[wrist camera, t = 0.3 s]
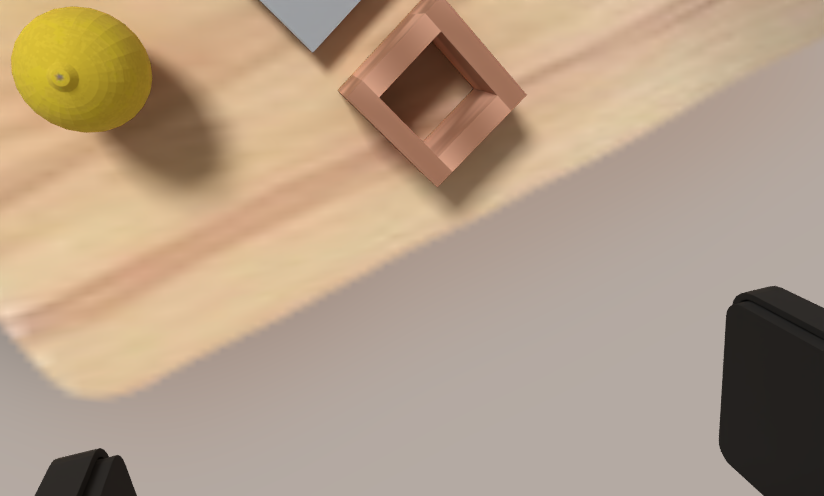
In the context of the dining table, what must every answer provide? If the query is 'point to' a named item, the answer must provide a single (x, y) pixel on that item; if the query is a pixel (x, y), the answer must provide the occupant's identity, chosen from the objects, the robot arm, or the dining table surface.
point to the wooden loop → (467, 120)
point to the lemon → (81, 69)
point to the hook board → (310, 17)
